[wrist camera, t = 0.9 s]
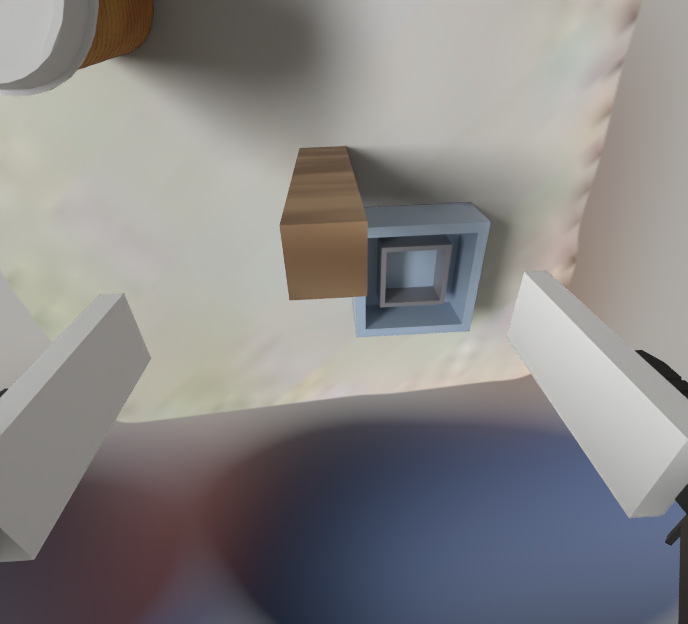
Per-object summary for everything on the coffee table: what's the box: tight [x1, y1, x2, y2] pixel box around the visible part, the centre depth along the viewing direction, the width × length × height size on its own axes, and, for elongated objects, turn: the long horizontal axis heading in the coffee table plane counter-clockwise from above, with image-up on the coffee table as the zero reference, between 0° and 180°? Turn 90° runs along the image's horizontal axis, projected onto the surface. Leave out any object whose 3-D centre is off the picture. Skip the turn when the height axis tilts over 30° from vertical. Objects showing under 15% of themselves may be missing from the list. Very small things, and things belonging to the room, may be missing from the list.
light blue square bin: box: [353, 203, 491, 337], centre depth 32 cm, size 10×10×4 cm
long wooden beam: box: [280, 146, 368, 300], centre depth 22 cm, size 4×4×16 cm
